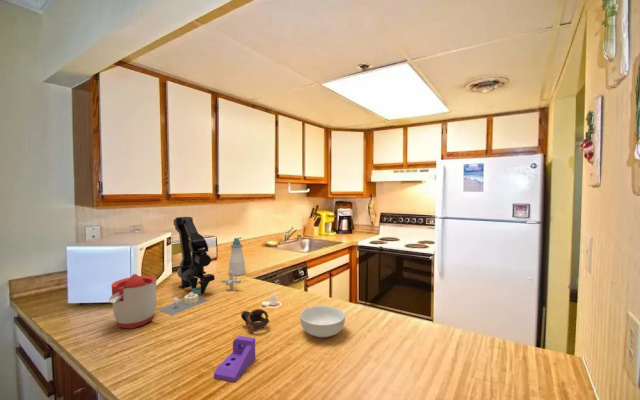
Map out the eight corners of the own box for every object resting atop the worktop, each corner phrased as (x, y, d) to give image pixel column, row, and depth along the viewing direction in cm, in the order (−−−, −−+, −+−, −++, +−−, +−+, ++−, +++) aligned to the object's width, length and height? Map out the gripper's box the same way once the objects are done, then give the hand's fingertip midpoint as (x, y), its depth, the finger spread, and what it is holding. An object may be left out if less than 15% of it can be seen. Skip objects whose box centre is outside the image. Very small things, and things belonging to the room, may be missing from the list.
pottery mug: (272, 323, 120) (273, 310, 115) (262, 343, 112) (262, 330, 107) (245, 313, 122) (245, 300, 117) (233, 333, 114) (233, 319, 110)
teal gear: (189, 295, 150) (189, 289, 149) (199, 291, 155) (199, 286, 155) (197, 297, 146) (196, 291, 146) (207, 293, 152) (207, 288, 152)
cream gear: (180, 303, 136) (180, 296, 136) (192, 298, 142) (192, 292, 142) (189, 305, 133) (189, 299, 133) (201, 301, 139) (201, 294, 139)
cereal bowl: (312, 348, 100) (312, 328, 99) (293, 328, 114) (293, 310, 114) (353, 337, 107) (353, 318, 107) (331, 319, 122) (331, 302, 122)
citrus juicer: (98, 329, 113) (96, 278, 113) (139, 311, 130) (138, 267, 129) (127, 336, 108) (125, 283, 107) (166, 317, 124) (165, 270, 124)
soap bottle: (248, 273, 188) (247, 237, 187) (236, 277, 180) (235, 240, 179) (237, 270, 193) (237, 236, 193) (225, 274, 185) (225, 238, 184)
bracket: (236, 355, 96) (236, 335, 96) (255, 359, 94) (255, 338, 94) (213, 378, 84) (213, 355, 84) (234, 383, 83) (234, 359, 82)
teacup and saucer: (259, 307, 135) (259, 299, 135) (267, 301, 142) (267, 293, 142) (277, 309, 132) (277, 301, 132) (284, 303, 140) (284, 294, 140)
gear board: (156, 312, 129) (156, 299, 129) (194, 298, 145) (194, 287, 145) (171, 318, 123) (171, 304, 123) (209, 302, 140) (209, 291, 139)
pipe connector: (243, 287, 161) (243, 269, 161) (237, 293, 151) (236, 274, 151) (226, 286, 162) (226, 269, 162) (218, 293, 152) (218, 274, 152)
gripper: (171, 263, 148) (172, 294, 148) (195, 268, 138) (196, 301, 139) (191, 259, 157) (192, 287, 158) (215, 263, 148) (215, 294, 149)
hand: (198, 292), depth 151 cm, fingers closed on teal gear, 6 cm apart
